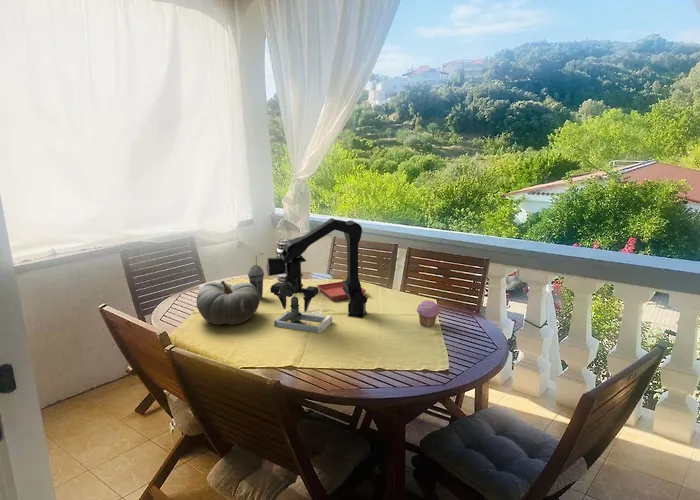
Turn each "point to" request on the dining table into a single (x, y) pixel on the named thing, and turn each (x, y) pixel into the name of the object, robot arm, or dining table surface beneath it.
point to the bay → (318, 329)
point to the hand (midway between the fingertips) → (295, 310)
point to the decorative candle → (280, 248)
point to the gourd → (227, 302)
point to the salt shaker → (295, 311)
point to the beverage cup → (256, 278)
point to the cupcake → (428, 313)
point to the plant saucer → (335, 290)
